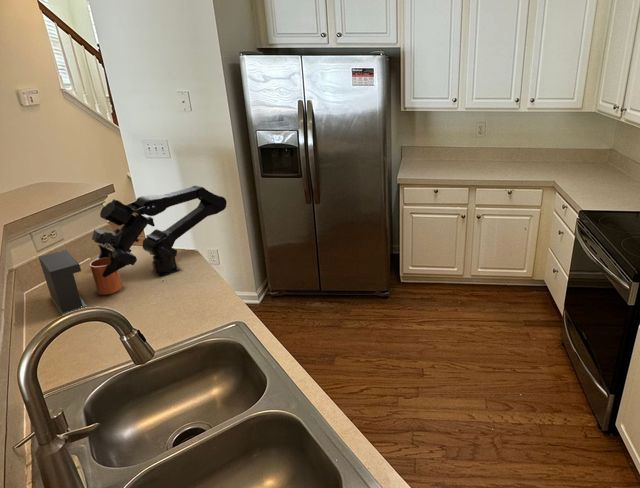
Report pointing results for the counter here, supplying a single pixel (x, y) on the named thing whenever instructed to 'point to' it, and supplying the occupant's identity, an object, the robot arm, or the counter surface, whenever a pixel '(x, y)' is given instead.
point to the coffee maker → (62, 280)
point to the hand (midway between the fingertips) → (99, 272)
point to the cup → (104, 283)
